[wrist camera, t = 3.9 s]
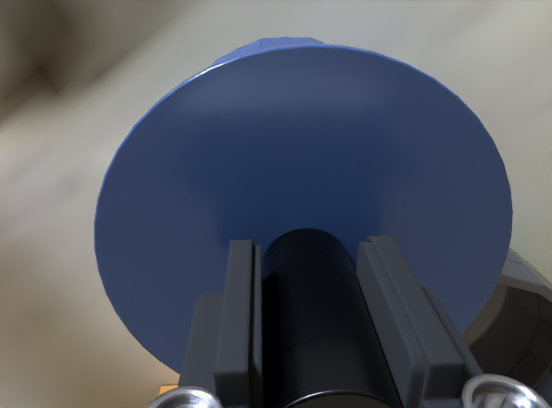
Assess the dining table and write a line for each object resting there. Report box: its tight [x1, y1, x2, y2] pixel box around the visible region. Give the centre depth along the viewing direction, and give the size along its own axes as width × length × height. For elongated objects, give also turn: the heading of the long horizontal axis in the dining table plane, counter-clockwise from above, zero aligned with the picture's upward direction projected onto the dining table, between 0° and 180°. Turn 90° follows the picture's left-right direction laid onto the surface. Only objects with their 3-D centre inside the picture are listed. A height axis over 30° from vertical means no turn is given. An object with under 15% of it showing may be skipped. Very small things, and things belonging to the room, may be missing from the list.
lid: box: [94, 43, 513, 408], centre depth 9 cm, size 11×11×6 cm
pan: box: [461, 248, 552, 408], centre depth 23 cm, size 15×15×4 cm
